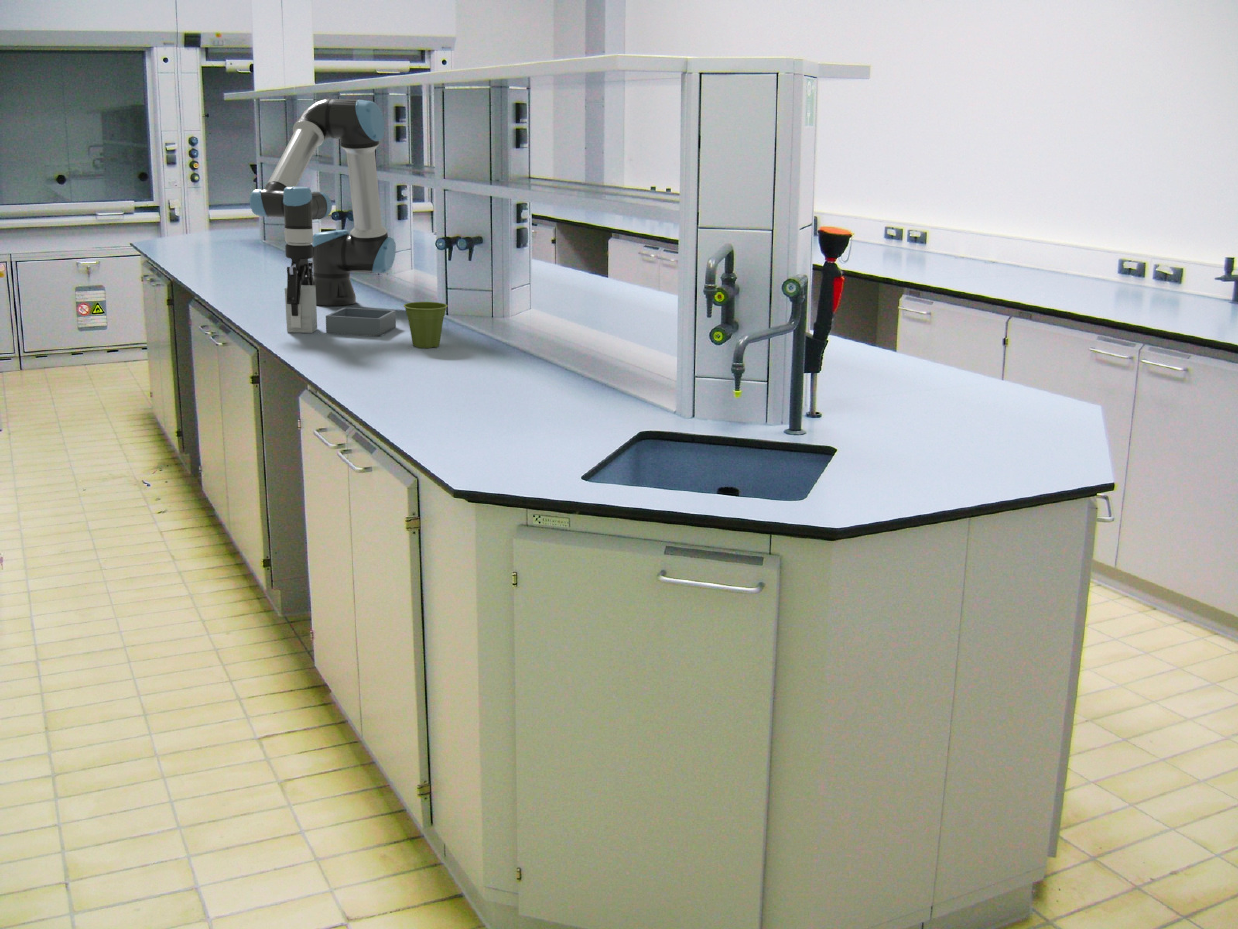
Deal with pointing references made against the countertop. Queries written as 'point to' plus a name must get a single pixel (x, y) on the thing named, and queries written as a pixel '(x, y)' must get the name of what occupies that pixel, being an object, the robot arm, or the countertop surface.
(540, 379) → the countertop surface
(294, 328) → the supplement box
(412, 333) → the plant pot
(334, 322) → the grey bin
